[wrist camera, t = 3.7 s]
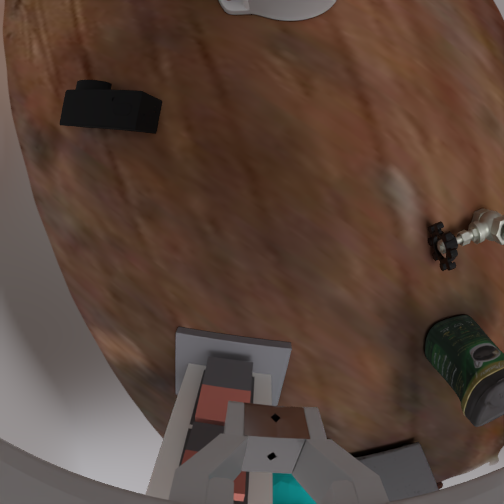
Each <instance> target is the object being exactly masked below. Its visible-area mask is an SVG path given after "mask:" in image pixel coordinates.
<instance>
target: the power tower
mask: <svg viewBox="0 0 504 504" xmlns="http://www.w3.org/2000/svg"><path fill="white" fill-rule="evenodd" d="M291 349H292V348H291V342H282V341H273V340H265V339H257V338H249V337H241V336H234V335H227V334H221V333H214V332H208V331H201V330H195V329H189V328H184V327H178V329H177V331H176V394H178V396H177V399H176V402H175V405H174V408H173V411H172V414H171V417H170V420H169V423H168V426H167V429H166V433H165V436H164V439H163V442H162V445H161V448H160V451H159V454H158V457H157V460H156V463H155V467H154V470H153V473H152V476H151V479H150V482H149V485H148V489H147V492H146V495H148V496H152V497H157V498H161V499H166V500H168V499H169V495H170V490H171V486H172V482H173V478H174V473H175V470H176V469H177V468H178V467H179V466H181V464H182V460H183V457H184V453H185V450H186V446H187V443H188V439H189V436H190V433H191V429H192V426H193V422H194V421H195V414H196V410H197V405H198V401H199V396H200V392H201V387H202V383H203V378H204V374H205V370H206V365H207V361H208V357H209V356H211V357H218V358H224V359H231V360H238V361H246V362H253V372H252V384H251V396H250V403H253V404H262V405H271V406H277V404H278V400H279V397H280V393H281V389H282V385H283V381H284V377H285V373H286V369H287V365H288V361H289V357H290V353H291ZM233 504H273V481H272V473H269V472H247V471H246V482H245V496H244V500H243V501H235V500H234V501H233Z"/></svg>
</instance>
